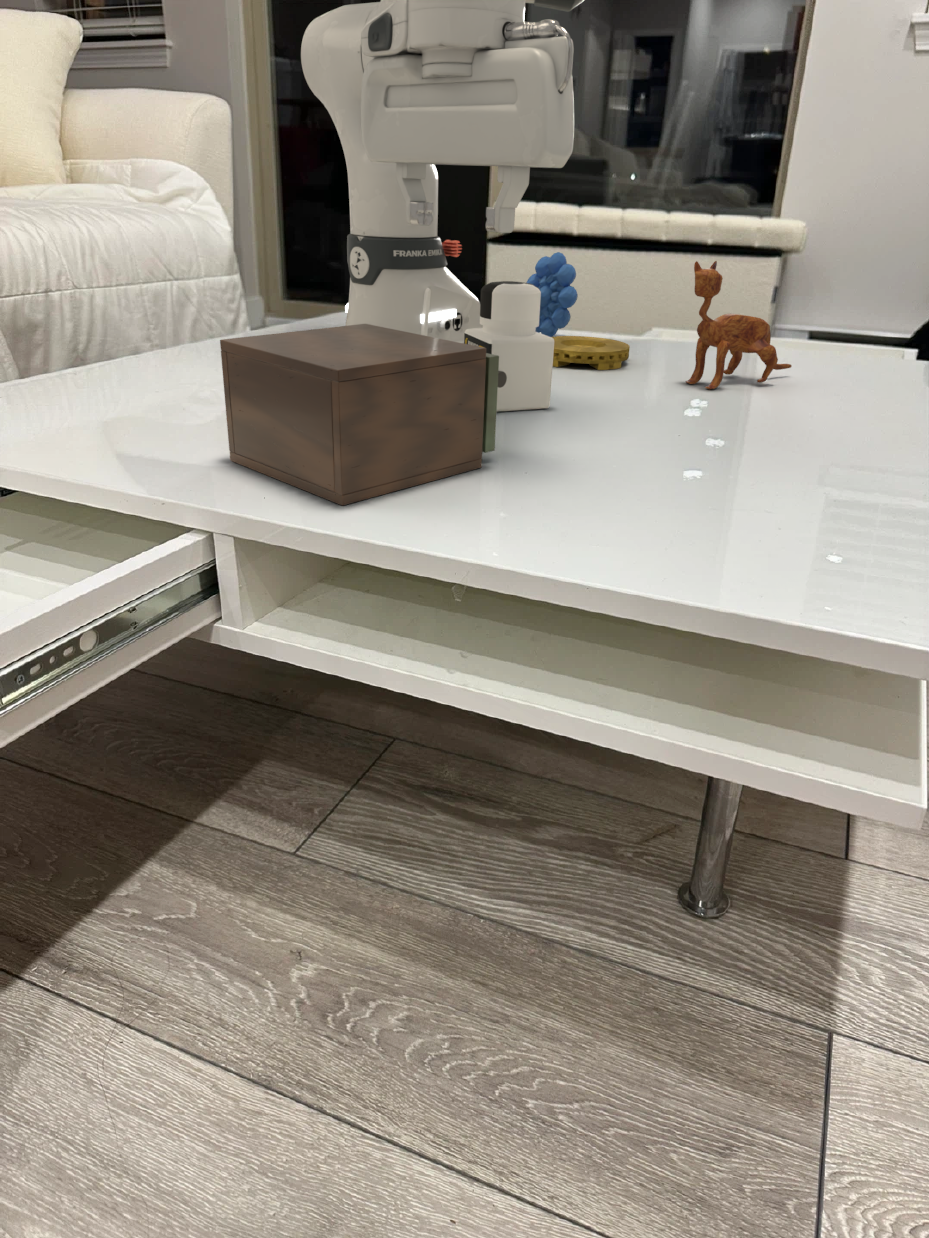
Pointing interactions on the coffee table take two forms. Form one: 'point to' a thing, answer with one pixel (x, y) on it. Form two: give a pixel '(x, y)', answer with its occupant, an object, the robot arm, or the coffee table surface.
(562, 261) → the grapes
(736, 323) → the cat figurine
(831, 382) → the coffee table surface
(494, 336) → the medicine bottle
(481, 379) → the cabinet
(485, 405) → the drawer
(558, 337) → the golden round trivet
